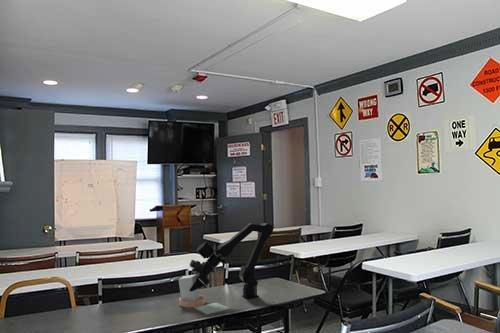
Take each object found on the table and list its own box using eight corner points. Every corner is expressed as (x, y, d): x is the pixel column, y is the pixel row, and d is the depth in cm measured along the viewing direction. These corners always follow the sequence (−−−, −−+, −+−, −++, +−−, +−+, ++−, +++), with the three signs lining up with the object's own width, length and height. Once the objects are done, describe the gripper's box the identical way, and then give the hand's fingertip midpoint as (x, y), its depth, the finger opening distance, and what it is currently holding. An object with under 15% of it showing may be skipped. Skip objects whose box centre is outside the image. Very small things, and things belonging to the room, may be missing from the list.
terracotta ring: (197, 298, 209) (197, 293, 209) (209, 303, 199) (209, 298, 199) (174, 302, 202) (174, 297, 202) (186, 308, 192) (186, 303, 192)
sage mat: (216, 303, 199) (216, 302, 199) (229, 309, 190) (229, 308, 190) (194, 308, 192) (194, 307, 192) (207, 314, 183) (207, 313, 183)
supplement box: (196, 303, 196) (192, 277, 197) (181, 305, 198) (177, 279, 198) (200, 299, 204) (196, 273, 204) (186, 300, 205) (182, 275, 206)
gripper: (195, 251, 212) (174, 273, 208) (202, 257, 194) (179, 282, 190) (210, 265, 214) (189, 288, 210) (218, 272, 196) (196, 297, 192)
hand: (188, 288), depth 201 cm, fingers closed on supplement box, 9 cm apart
